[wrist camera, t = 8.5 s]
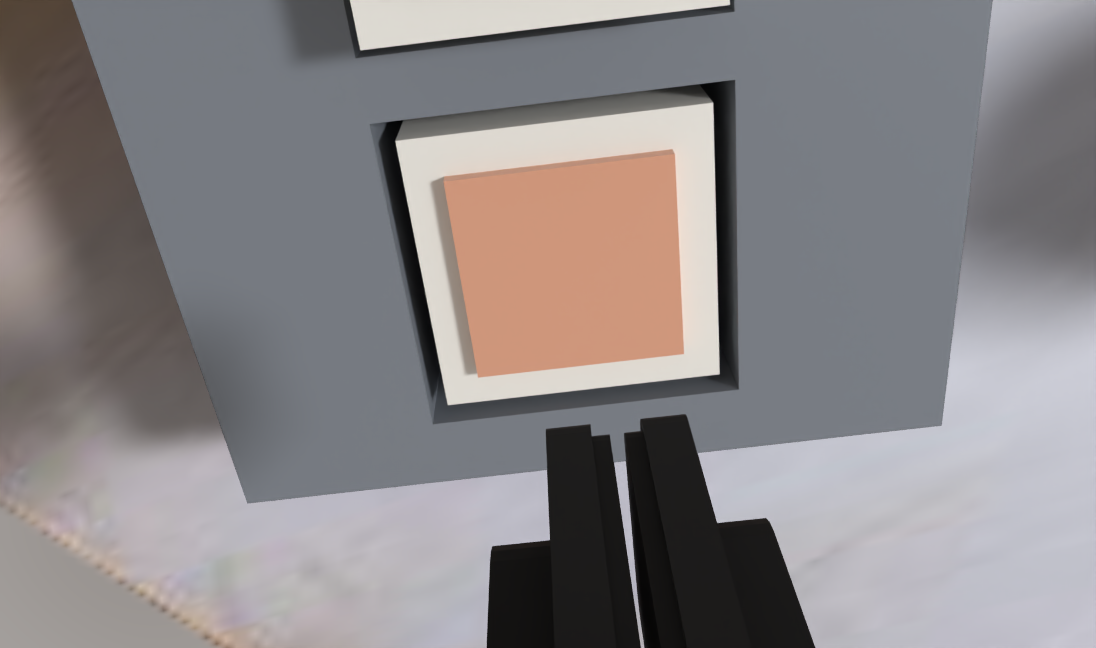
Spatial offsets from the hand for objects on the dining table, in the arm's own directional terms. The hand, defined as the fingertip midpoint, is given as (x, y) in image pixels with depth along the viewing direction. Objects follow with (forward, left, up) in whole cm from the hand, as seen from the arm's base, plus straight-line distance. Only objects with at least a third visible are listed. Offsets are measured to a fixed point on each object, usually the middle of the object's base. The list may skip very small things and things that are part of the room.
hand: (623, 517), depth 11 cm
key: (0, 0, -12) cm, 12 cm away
